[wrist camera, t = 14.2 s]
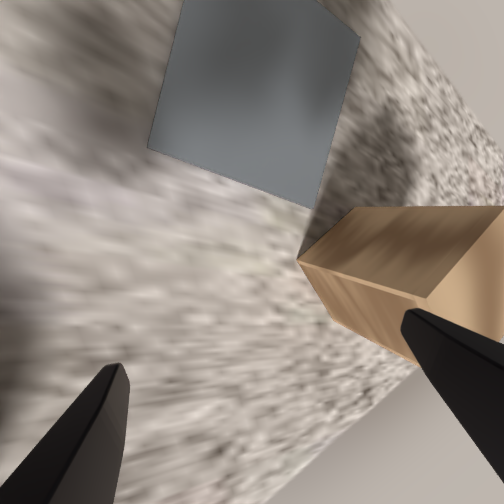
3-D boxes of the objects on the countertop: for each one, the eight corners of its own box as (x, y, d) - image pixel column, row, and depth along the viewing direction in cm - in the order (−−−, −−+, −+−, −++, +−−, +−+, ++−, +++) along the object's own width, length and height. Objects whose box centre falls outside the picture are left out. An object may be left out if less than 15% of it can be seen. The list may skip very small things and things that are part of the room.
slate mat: (310, 208, 21) (313, 208, 20) (146, 147, 15) (147, 146, 15) (356, 40, 20) (360, 37, 20) (204, -83, 15) (206, -91, 15)
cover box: (333, 320, 23) (463, 390, 14) (296, 259, 21) (426, 298, 12) (383, 269, 25) (527, 302, 16) (355, 206, 23) (507, 205, 14)
